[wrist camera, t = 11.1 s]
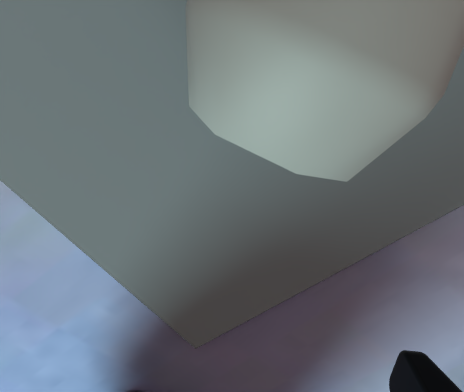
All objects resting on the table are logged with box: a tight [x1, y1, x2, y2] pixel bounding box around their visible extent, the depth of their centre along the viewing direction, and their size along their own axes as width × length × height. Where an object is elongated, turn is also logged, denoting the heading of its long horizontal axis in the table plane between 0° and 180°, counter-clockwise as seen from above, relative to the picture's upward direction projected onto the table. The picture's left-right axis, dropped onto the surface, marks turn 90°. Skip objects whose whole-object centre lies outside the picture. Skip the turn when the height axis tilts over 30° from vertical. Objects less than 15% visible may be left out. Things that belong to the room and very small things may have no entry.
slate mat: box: [0, 0, 464, 349], centre depth 13 cm, size 16×16×1 cm
